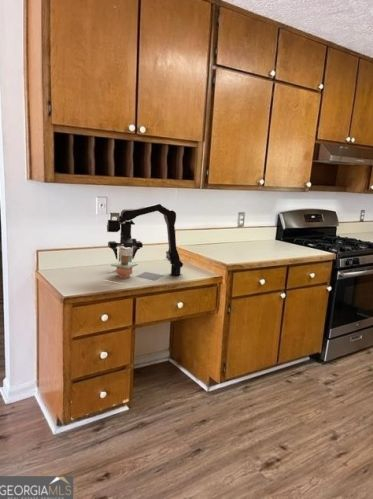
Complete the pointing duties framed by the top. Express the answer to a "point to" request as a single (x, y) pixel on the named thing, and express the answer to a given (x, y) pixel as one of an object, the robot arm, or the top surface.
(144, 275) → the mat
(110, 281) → the top surface
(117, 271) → the bowl
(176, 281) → the top surface
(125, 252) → the syrup box
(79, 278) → the top surface
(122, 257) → the lid
